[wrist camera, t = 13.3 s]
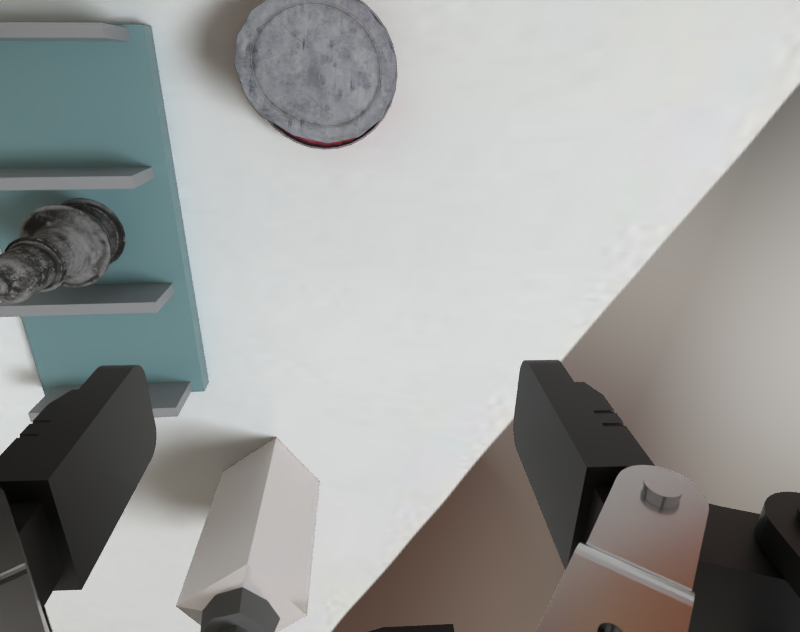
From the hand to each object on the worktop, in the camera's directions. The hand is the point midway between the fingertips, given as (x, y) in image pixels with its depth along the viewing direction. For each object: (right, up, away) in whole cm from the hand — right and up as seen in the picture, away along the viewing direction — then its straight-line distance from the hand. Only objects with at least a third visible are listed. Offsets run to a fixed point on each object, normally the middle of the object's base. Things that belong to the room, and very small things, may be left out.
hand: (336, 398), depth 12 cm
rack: (-22, +9, +30) cm, 38 cm away
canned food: (-4, +19, +27) cm, 34 cm away
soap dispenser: (-12, -14, +41) cm, 45 cm away
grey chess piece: (-22, +8, +29) cm, 37 cm away
